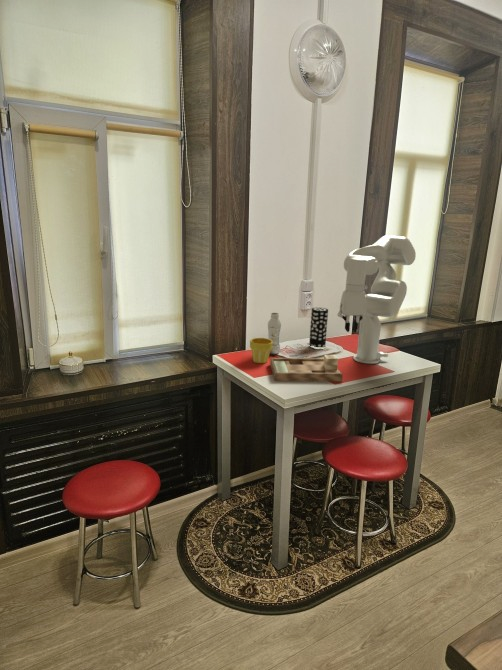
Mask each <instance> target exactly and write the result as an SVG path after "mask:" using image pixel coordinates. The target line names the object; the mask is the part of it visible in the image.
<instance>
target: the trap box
mask: <svg viewBox="0 0 502 670" xmlns="http://www.w3.org/2000/svg"><path fill="white" fill-rule="evenodd" d="M323 363H324V357H323V358H320V357H319V358H318V357H315V358H311V357H309V358H307V357H306V358H303V357H301V358H299V357H297V358H296V357H295V358H294V357H270V363H269V364H270V369H271V371H272V372H271V373H272V375H273V379H274V381H275V382H343V376H344V374H343V372H341V371H340V370H339V367H338V368H337V370H326V369H325V368H324V366H323Z"/></svg>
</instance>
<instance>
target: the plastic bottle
mask: <svg viewBox="0 0 502 670" xmlns="http://www.w3.org/2000/svg"><path fill="white" fill-rule="evenodd" d="M279 315H280V314H279V313H278V312H271V313H270V319H269V320H268V322H267V331H268V334H267V335H268V336H267V337H268V338H267V339H270V340H272V342H273V345H272V349H271V350H270V354H269V355H277V354H276V353H278V354H279V353H280V350H281V345H280V344H281V343H280V334H281V327H282V323H281V321H280V319H279Z"/></svg>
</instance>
